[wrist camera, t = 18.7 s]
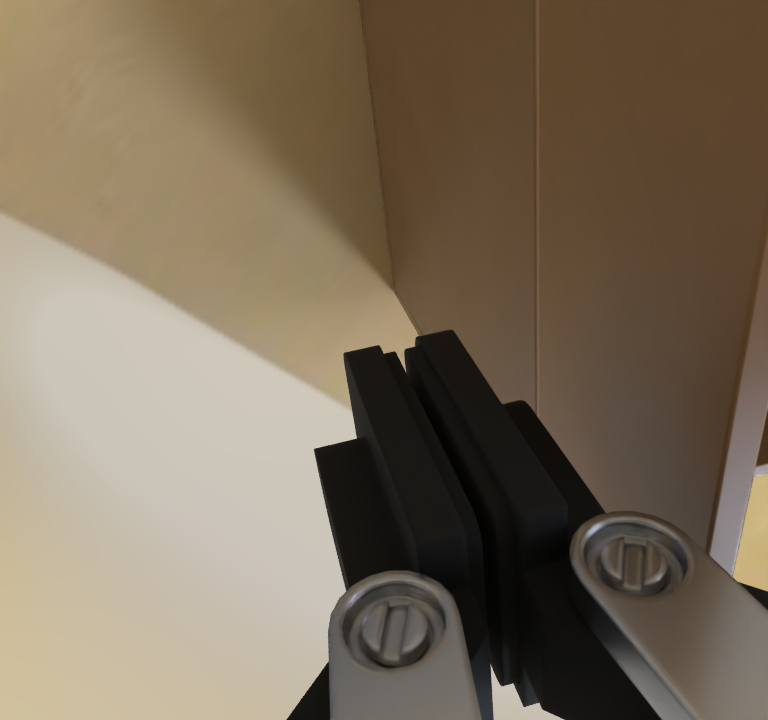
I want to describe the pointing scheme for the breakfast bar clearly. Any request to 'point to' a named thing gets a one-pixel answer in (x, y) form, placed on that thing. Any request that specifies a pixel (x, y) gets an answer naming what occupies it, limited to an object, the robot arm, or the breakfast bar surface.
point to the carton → (465, 176)
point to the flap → (656, 254)
